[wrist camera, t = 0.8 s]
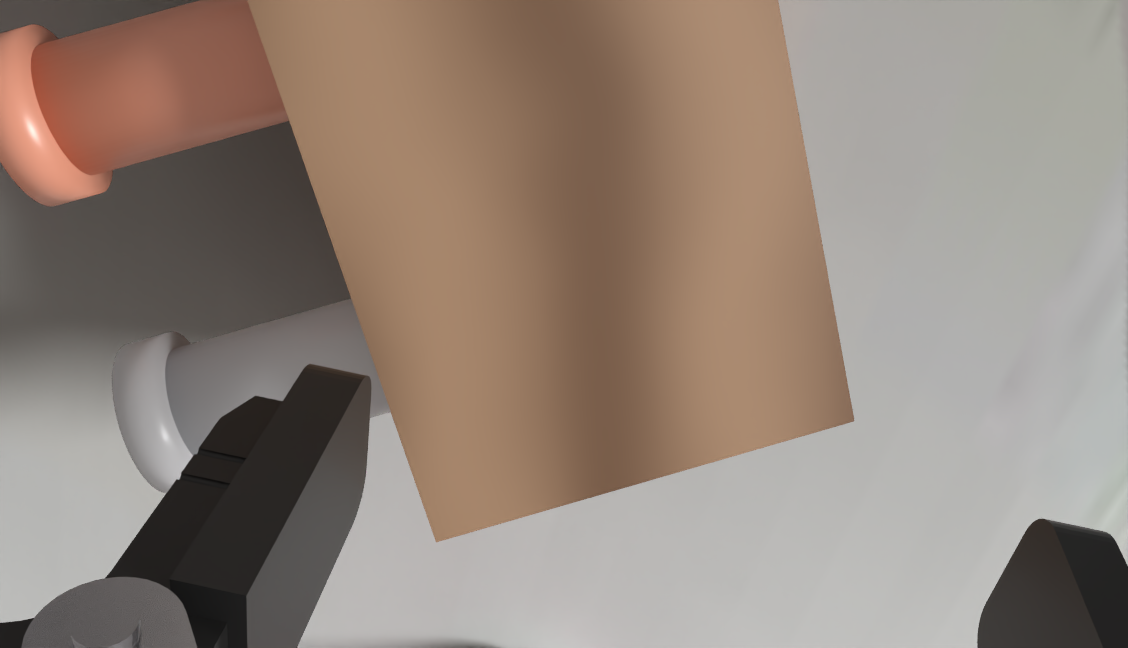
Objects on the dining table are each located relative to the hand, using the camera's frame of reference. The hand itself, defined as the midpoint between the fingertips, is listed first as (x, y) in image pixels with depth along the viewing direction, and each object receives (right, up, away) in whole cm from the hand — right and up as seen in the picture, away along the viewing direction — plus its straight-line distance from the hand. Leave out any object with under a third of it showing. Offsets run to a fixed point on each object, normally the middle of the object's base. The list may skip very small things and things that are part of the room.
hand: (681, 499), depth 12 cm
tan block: (-4, +12, +17) cm, 21 cm away
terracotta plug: (-7, +9, +11) cm, 16 cm away
